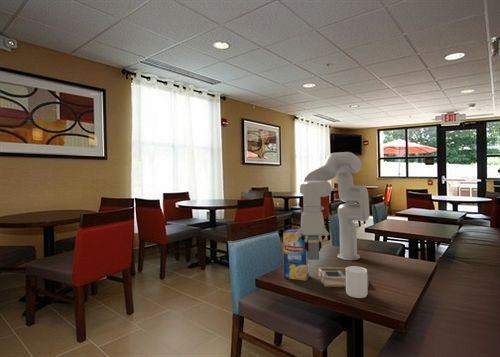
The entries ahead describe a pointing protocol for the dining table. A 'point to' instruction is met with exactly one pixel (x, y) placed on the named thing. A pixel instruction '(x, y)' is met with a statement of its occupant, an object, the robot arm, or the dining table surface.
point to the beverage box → (295, 256)
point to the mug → (356, 281)
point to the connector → (313, 247)
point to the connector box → (334, 277)
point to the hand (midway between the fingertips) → (313, 249)
